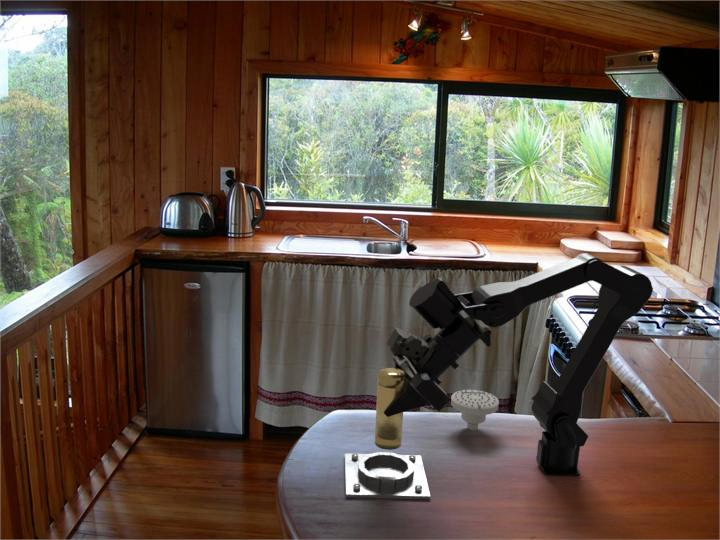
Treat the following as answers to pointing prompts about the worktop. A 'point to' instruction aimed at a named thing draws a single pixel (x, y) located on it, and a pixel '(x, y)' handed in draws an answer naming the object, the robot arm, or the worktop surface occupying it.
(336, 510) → the worktop surface
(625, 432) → the worktop surface
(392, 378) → the brass cylinder
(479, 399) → the showerhead
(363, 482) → the floor flange
